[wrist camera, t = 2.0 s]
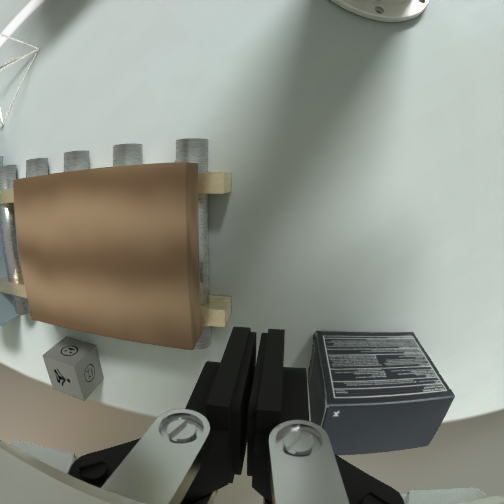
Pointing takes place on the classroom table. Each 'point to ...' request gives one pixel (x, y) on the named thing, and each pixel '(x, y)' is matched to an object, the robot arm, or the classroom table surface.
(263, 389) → the robot arm
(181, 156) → the roller bed
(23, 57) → the geometric polyhedron
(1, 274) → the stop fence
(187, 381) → the classroom table surface
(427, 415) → the small box
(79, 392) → the dice cube
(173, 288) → the slab
